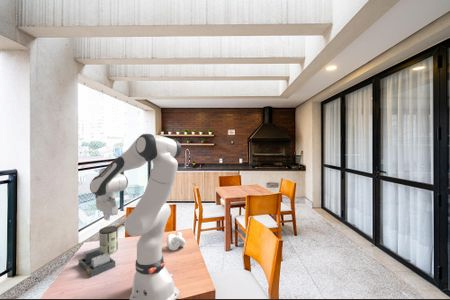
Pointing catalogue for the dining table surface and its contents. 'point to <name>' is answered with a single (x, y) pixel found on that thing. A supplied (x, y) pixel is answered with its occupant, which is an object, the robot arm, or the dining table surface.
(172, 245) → the white lumpy piece
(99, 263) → the grey rectangular block
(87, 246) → the dining table surface
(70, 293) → the dining table surface
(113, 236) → the coffee can
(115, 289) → the dining table surface
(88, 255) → the rack
